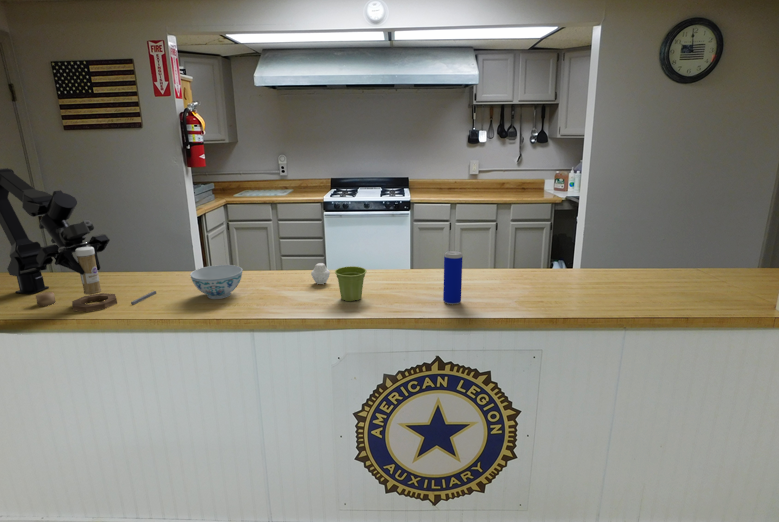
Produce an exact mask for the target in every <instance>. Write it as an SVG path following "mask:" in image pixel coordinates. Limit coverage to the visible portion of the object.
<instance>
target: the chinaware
mask: <svg viewBox="0 0 779 522" xmlns="http://www.w3.org/2000/svg"><path fill="white" fill-rule="evenodd" d="M189 276H190V279H191V281H192V282H193V284H194V286H195V287H196V289H197V290H198V291H200V292H201V293H202V294H204V295H207V298H208V299H211V300H221V299H225V298H228V297H230V296H231V294H232V292H233V291H234V290H236V288H238V285H239V284H240V282H241V280H242V276H243V268H242V267H240V265H239V266H238V265H234V264H217V265H209V266H203V267H200V268H197V269H195V270H193V271H191V272H190V274H189Z"/></svg>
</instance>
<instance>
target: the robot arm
mask: <svg viewBox="0 0 779 522" xmlns="http://www.w3.org/2000/svg"><path fill="white" fill-rule="evenodd" d="M9 194H11V195H13V196H14V197H15V198H17V199H18V200H19V201H20V202H21V203H22V206H21V207H22V209H23V210H24V211H25V212H26V213H27V214H28V215H29V216H30V217H33V218H34V217H40V216H41V218H40V220H39V225H38V228H39V229H40V230H42V229H43V230H44V229H45V231H46V232H47V233H48V235H49V236H50V237H51V240H50V242H51V243H52V244H50V245H44V246H41V243H40V242H39V241H33V240H31V239H30V238H29V236H28V234H27V232H26V231H25V228H24V227H23V224H22V223H21V221H20V219H19V217H18V215H17V213H16V211H15V209H14V206H13V205H12V203H11V201H10V200H9ZM77 205H78V200H77V199H76V197H74V196H73V195H70V194H69V193H66V192H63V191H62V190H61V189H60V190H59V189H58V190H53V191H52V194H51V193H48V192H47V191H43V190H39V189H36V188H34V187H32V186H31V185H30V184H28V183H27V182H26V181H25V180H24V179H22V177H19V175H17V174H16V173H15V171H14V170H13V169H12V168H8V167H7V168H6V167H5V168H0V226H1V228H2V230H3V233H4V234H5V235H6V238H7V240H8V242H9V244H10V246H11V247H10V251H9V258H10V261H9V264H8V265H7V268H6V269H7V272H8V274H9V276H13V277H16V279H17V284H18V289H19V290H15V291H14V292H15V293H16V294H22V295H23V294H26V295H33V294H36V293H39V292H41V291H44V290H47V289H49V288H50V286H48V285H47V286H46V285H45V281H44V277H43V275H42V271H46V270H48V269H47V266H49V265H52V263H53V261H54V260H55V261H54V264H55V265H56V266H57V265H58V266H62V267H64V268H67V269H69V270H71V271H74V272H76V273H78V274H82V275H83V274H84V273H85V272H84V270H83V268H82V267H81V266H80V265H79V263H78V260H77V259H76V258H75V256H74V253H76V251H75V250H76V249H77V248H81V247H93V248H94V251H95V255H94V256H95V260H96V265H97V270H98V271H100V269H101V264H100V261H99V257H98V253H100V252H103V251H104V250H105V249H106V247H107V246H108V244H109V242H110V241H111V239H110V238H109V237H108V235H107V234H104V233H102V234H98V235H92V236H91V238H90V239H89V241H88V242H87V241H86V242H84V241H85V240H86V235H89V234H90V233H91V232H92V231H93V230H94V229H95V227H94V225H93V223H92V222H91V221H90V220H89V219H86V220H82V221H80V222H78V223H73V224H70V222H68V221H67V220H69V219H70V218H72V215H73V213H74V212H75V209H76V207H77ZM15 293H14V294H15Z"/></svg>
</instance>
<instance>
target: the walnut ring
mask: <svg viewBox="0 0 779 522" xmlns="http://www.w3.org/2000/svg"><path fill="white" fill-rule="evenodd" d="M97 300H99V301H100V302H98V301H97ZM104 300H105V301H104ZM91 301H93V302H95V303H91ZM85 303H86V304H85ZM87 303H89V304H87ZM117 304H118V299H117V296H116V294H115V293H107V292H106V293H105V292H101V293H100V292H99V293H96V294H92V295H84V296H82V297H79V298H77V299H75V300H72V301H71V305H72V306H71V307H72V311H74V312H81V311H86V312H85V313H88V312H87V311H90V312H93V310H95V311H100V310H99V309H101V310H105V308H106V309H108V308H110V307H112V306H114V305H117ZM107 307H108V308H107Z"/></svg>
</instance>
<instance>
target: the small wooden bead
mask: <svg viewBox="0 0 779 522" xmlns="http://www.w3.org/2000/svg"><path fill="white" fill-rule="evenodd" d="M35 299H36V304H37V306H38V307H41V306H43V307H49V306H52V304H53V305H54V303H55V302H56V303H57V300H56V296H55V293H54V291H53V292H52V291H46V292H41V293H38V294H36V295H35ZM56 303H55V304H56ZM48 305H49V306H48Z"/></svg>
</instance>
